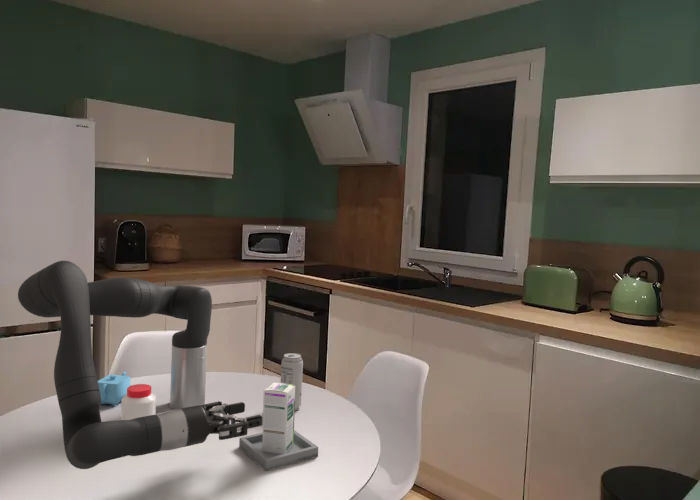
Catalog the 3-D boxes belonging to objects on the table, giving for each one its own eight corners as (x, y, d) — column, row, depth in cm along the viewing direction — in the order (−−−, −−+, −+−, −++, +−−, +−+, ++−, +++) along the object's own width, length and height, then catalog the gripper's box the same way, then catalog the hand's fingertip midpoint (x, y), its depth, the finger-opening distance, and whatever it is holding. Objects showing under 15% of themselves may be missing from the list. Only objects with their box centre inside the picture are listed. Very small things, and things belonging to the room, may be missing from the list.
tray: (239, 446, 121) (239, 437, 121) (288, 434, 129) (289, 426, 129) (265, 471, 111) (266, 461, 111) (317, 456, 119) (318, 447, 119)
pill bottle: (162, 430, 128) (163, 386, 127) (137, 441, 121) (138, 395, 120) (138, 423, 131) (140, 380, 131) (113, 434, 124) (114, 389, 124)
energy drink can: (304, 409, 146) (307, 357, 145) (285, 413, 143) (288, 359, 142) (294, 402, 151) (296, 351, 150) (275, 405, 148) (278, 353, 147)
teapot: (116, 392, 152) (116, 367, 151) (136, 394, 151) (136, 369, 150) (91, 407, 140) (91, 380, 139) (112, 409, 139) (113, 382, 139)
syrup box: (285, 455, 116) (288, 392, 115) (260, 451, 118) (263, 389, 117) (293, 445, 122) (296, 384, 121) (270, 441, 123) (272, 381, 122)
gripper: (193, 422, 99) (268, 407, 109) (168, 398, 111) (239, 386, 120) (191, 460, 100) (267, 442, 110) (167, 433, 111) (238, 418, 121)
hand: (252, 413), depth 115 cm, fingers open, 8 cm apart
